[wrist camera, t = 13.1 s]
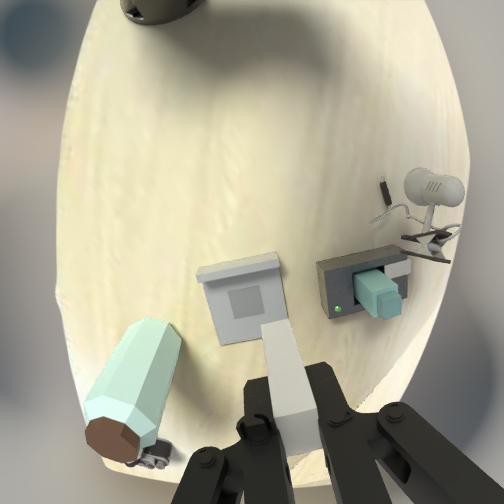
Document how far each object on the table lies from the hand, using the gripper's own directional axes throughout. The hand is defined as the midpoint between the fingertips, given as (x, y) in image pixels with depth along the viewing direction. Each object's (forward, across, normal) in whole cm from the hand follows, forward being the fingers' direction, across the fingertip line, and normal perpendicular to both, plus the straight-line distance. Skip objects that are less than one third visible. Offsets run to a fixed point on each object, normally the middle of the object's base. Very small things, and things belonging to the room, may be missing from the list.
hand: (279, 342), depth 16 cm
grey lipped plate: (+30, -4, -11) cm, 32 cm away
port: (+30, +15, -12) cm, 36 cm away
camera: (+30, -35, -39) cm, 61 cm away
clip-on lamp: (+31, +21, -1) cm, 37 cm away
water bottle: (+30, -21, -15) cm, 40 cm away
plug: (+30, +15, -12) cm, 35 cm away
